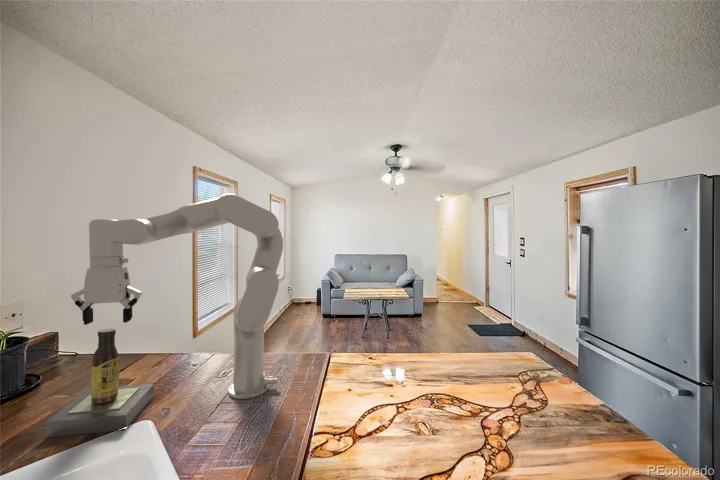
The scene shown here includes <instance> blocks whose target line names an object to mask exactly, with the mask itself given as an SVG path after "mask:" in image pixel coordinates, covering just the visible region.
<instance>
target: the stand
mask: <svg viewBox="0 0 720 480" xmlns="http://www.w3.org/2000/svg"><path fill="white" fill-rule="evenodd" d="M154 391H155V384H154V383H148V384H133V385H121V386H119V389H118V395H117V397H116V398H115V399H114V400H112V401H109V402H106V403H101V404H93V403H92V402H91V398H92V397H91V387H90V388H88V389H87V390H85V391H84V392H83V393H81V394H79V396H77V397H76V398H75V399H74V400H72V401H71V402H70V403H68V404H67V405H66V406H64V407H63V408H62V409H61V410H59V411H58V412H57V413H56V414H55V415H53V416H51V418H49V419H47V420H46V421H45V438H55V437H66V436H74V435H76V436H77V435H86V434H87V435H88V434H97V433H105V432H106V433H108V432H117V431H116V430H118V431H120V430H119V429H122V428H124V427H127V426H129V425H130V426H131V425H132V423H133V422H134V421H135V420H136V418H138V416H139V415H140V413H142V411H143V410H144V409H145V407H146V406H147V405H148V404H149V403H150V401H151V400H152V399H153V398H154V397H155V392H154ZM134 419H135V420H134ZM130 426H129V427H130Z"/></svg>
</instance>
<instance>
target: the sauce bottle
mask: <svg viewBox="0 0 720 480" xmlns="http://www.w3.org/2000/svg"><path fill="white" fill-rule="evenodd" d="M116 330H117V329H116V328H104V329H100V330H98V331H97V338H98V344H97V348H96V350H95V351H94V353H93V355H92V358H91V359H92V363H91V364H92V365H91V379H90V380H91V381H90V383H91V384H90V388H91V397H92V398H91V402H92V403H93V404H101V403H106V402H109V401H112V400H114V399H115V398H116V397H117V395H118V389H119V382H120V381H119V380H120V355H119V353H118V350H117V347H116V342H115V339H116V333H117V332H116Z"/></svg>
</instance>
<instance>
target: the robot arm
mask: <svg viewBox="0 0 720 480" xmlns="http://www.w3.org/2000/svg"><path fill="white" fill-rule="evenodd" d="M277 217H278V216H276V214H274V213H273V212H271V211H270V210H267V209H265V208H263V207H261V206H260V205H257V204H255V203H253V202H251V201H248V200H247V199H245V198H243V197H241V196H239V195H237V194H235V193H225V194H222V195H220V196H219V197H217V198H212V199H207V200H203V201H200V202H199V201H198V202H195V203H194V202H193V203H190V204H186V205H183V206H181V207H179V208H177V209H175V210H172V211H170V212H168V213H164V214H160V215H155V216H152V217H147V218H142V219H141V218H129V219H114V218H113V219H111V218H107V219H106V218H99V219H98V218H97V219H92V220H90V221H89V223H88V236H89V237H88V238H89V239H88V241H89V245H88V247H89V267H88V268H87V269H86V272H85V276H84V285H83V289H81V290H78V291H77V292H74V293H72V294H71V295H70V297H71V299H72V301H73V302H74V305H76V306H77V307H78V308H79V309H80V311H81V313H82V321H83V325H85V326H87V325H89V324H91V323H93V322H94V309H93V307H92V306H93V305H94V304H113V303H115V304H116V303H117V304H118V303H120V304H121V305H122V306H123V307H124V308H123V309H122V323H124V324H125V323H128V322H130V321H132V318H133V307H134V306H135V305H136V304H137V303H139V301H140V298H141V297H142V295H143V291H141V290H139V289H136V288H134V287H132V284H131V279H130V274H129V270H128V267H127V266H124V265H125V264H127V263H128V264H129V258H126V257H125V256H124V245H132V246H139V245H140V246H141V245H144V244H145V245H146V244H149V243H152V242H157V241H161V240H164V239H168V238H171V237H175V236H179V235H183V234H191V233H196V232H199V231H203V230H206V229H211V228H213V227H217V226H221V225H225V224H232V225H234V226H236V227H238V228H240V229H242V230H244V231H247V232H249V233H251V234H253V235H254V236H255V237H256V239H257V240H256V242H257V243H256V245H257V247H256V249H255V253H254V257H253V260H252V262H251V265H250V267H249V270H248V272H247V275H246V278H245V284H246V286H245V290H244V292H243V296H242V297H240V298H239V299H238V300H237V302H236V303H235V304H234V308H233V380H232V381H233V382H232V384H231V385H230V386H229V387H228V390H227V392H228V395H229V396H230V397H231V398H234V399H238V400H239V399H241V400H247V399H253V398H256V397H259V396H261V395H263V394H264V393H266V392H267V390H268V389H269V385H278V378H277V377H275V378H274V376H275V375H269V376H268V375H266V373H265V371H264V362H265V361H264V359H265V358H264V353H265V352H264V351H265V348H264V347H265V345H264V344H265V325H266V324H267V322H268V320H269V318H270V315H271V311H272V310H273V308H274V307H273V306H274V303H275V300H276V297H277V294H278V291H279V285H280V281H279V276H278V274H277V271H278V268H279V265H280V261H281V258H282V254H283V251H284V238H283V235H282V232H281V230H280V228H279V227H280V224H279V220H278V218H277ZM132 295H133V298H132V299H130V298H131V297H132ZM81 296H83V299H82V298H81Z"/></svg>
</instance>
